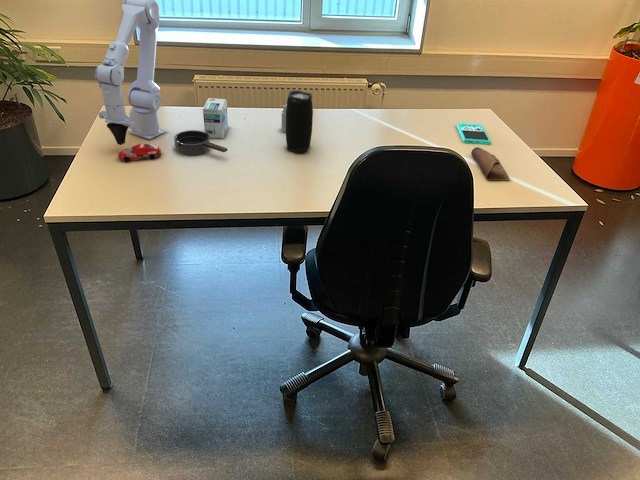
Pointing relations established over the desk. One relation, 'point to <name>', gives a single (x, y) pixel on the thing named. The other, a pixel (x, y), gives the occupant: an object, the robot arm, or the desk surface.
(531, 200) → the desk surface
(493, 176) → the sunglasses case
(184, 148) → the pan
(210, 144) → the pan handle
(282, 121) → the power adapter
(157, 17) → the robot arm
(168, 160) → the desk surface
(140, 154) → the race car
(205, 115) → the light bulb box
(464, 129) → the handheld game console
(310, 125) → the portable speaker
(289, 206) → the desk surface
